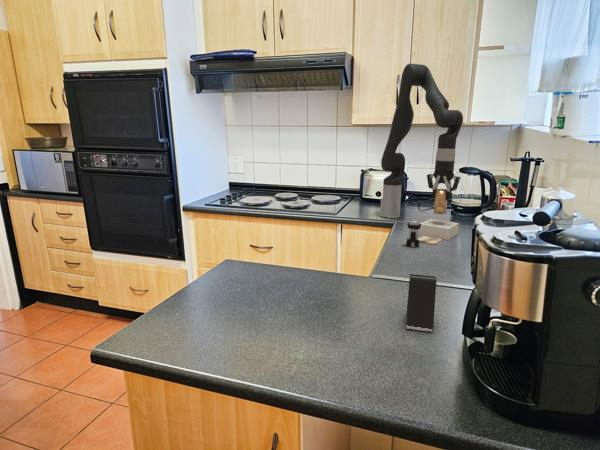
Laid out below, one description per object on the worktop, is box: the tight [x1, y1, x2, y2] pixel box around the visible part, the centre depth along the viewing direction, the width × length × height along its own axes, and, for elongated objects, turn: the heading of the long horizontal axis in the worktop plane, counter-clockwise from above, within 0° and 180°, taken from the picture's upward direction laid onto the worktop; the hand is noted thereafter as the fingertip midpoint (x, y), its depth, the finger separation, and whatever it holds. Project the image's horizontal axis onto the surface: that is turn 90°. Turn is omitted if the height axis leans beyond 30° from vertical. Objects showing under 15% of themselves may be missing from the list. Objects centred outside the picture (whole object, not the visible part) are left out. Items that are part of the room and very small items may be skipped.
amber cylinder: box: [433, 188, 448, 215], centre depth 168 cm, size 5×5×10 cm
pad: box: [418, 236, 443, 246], centre depth 161 cm, size 8×8×1 cm
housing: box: [418, 218, 460, 241], centre depth 171 cm, size 13×13×5 cm
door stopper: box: [405, 273, 437, 330], centre depth 92 cm, size 9×6×12 cm, turn 164°
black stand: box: [401, 220, 421, 248], centre depth 153 cm, size 7×5×10 cm
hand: (441, 199), depth 167 cm, fingers closed on amber cylinder, 5 cm apart
